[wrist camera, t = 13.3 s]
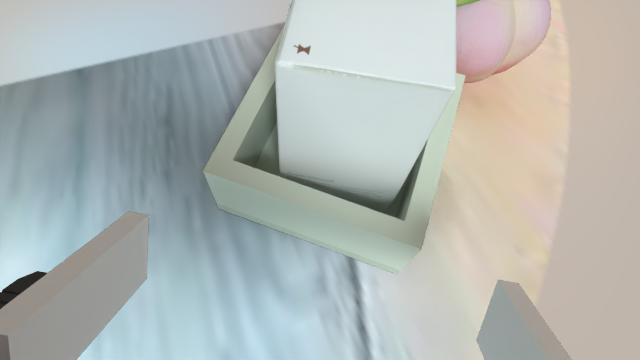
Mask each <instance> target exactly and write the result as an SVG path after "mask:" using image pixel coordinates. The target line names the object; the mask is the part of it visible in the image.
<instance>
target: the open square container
mask: <svg viewBox="0 0 640 360" xmlns="http://www.w3.org/2000/svg"><path fill="white" fill-rule="evenodd" d="M284 27H285V25H284ZM284 27H283V29H282V30H281V32H280V34H279V36H278V38H277V39H276V41H275V43H274V45H273V46H272V48H271V50H270V52H269V54H268V55H267V57H266V59H265V61H264V62H263V64H262V66H261V68H260V70H259V71H258V73H257V75H256V77H255V79H254V80H253V82H252V84H251V86H250V87H249V89H248V91H247V93H246V95H245V96H244V98H243V100H242V102H241V104H240V105H239V107H238V109H237V111H236V112H235V114H234V116H233V118H232V120H231V121H230V123H229V125H228V127H227V128H226V130H225V132H224V134H223V136H222V137H221V139H220V141H219V143H218V145H217V146H216V148H215V150H214V152H213V153H212V155H211V157H210V159H209V161H208V162H207V164H206V166H205V168H204V169H203V172H204V175H205V177H206V180H207V182H208V184H209V187H210V189H211V191H212V194H213V196H214V198H215V201H216V203H217V206H218V208H219V209H221V210H224V211H226V212H229V213H232V214H234V215H237V216H240V217H243V218H245V219H248V220H251V221H253V222H256V223H259V224H262V225H264V226H267V227H270V228H272V229H275V230H278V231H281V232H283V233H286V234H289V235H291V236H294V237H297V238H300V239H302V240H305V241H308V242H310V243H313V244H316V245H319V246H321V247H324V248H327V249H329V250H332V251H335V252H338V253H340V254H343V255H346V256H348V257H351V258H354V259H357V260H359V261H362V262H365V263H367V264H370V265H373V266H376V267H378V268H381V269H384V270H386V271H389V272H392V273H395V274H398V273H399V272H400V271H401V270H402V269H403V268H404V267H405V266H406V265H407V264H408V262H409V261H410V260H411V259H412V258H413V257H414V256H415V255H416V254H417V253H418V252H419V251H420V250H421V249H422V245H423V241H424V237H425V233H426V229H427V225H428V221H429V217H430V213H431V209H432V205H433V202H434V198H435V194H436V190H437V186H438V182H439V178H440V174H441V170H442V166H443V162H444V158H445V155H446V151H447V147H448V143H449V139H450V135H451V131H452V127H453V123H454V119H455V115H456V111H457V108H458V104H459V100H460V96H461V92H462V88H463V84H464V80H465V75H462V74H459V73H456V90H455V92H454V93H453V95H452V96H451V98H450V100H449V102H448V104H447V106H446V107H445V109H444V111H443V113H442V115H441V116H440V118H439V120H438V122H437V123H436V125H435V127H434V129H433V130H432V132H431V134H430V136H429V138H428V140H427V141H426V143H425V145H424V147H423V149H422V151H421V152H420V154H419V156H418V158H417V160H416V162H415V163H414V165H413V167H412V169H411V171H410V173H409V174H408V176H407V178H406V180H405V182H404V183H403V185H402V187H401V189H400V191H399V192H398V194H397V196H396V198H395V200H394V201H393V203H392V205H391V207H390V208H389V210H388V211H387V212H381V211H375V210H372V209H369V208H366V207H364V206H361V205H358V204H355V203H352V202H349V201H347V200H344V199H341V198H338V197H335V196H332V195H330V194H327V193H324V192H321V191H318V190H316V189H313V188H310V187H307V186H304V185H301V184H299V183H296V182H293V181H290V180H287V179H285V178H282V177H280V172H279V151H278V129H277V108H276V87H275V64H274V63H275V59H276V56H277V53H278V49H279V45H280V41H281V38H282V34H283V31H284Z"/></svg>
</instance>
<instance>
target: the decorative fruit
mask: <svg viewBox="0 0 640 360" xmlns="http://www.w3.org/2000/svg"><path fill="white" fill-rule="evenodd" d="M456 9H457V32H456V54H457V64H456V73H459V74H462V75H465V80H464V83H472V82H477V81H481V80H483V79H485V78H487V77H489V76H490V75H494V74H497V73H500V72H503V71H505V70H507V69H509V68H511V67H512V66H514V65H516V64H517V63H519V62H520V61H522V60H523V59H525V58H526V57H527V56H529V55H530V54H531V53H532V52H533V51H534V50H535V49H536V48H537V47H538V46H539V45H540V44H541V43H542V41H543V40H544V38H545V37H546V34H547V31H548V29H549V26H550V19H551V6H550V1H549V0H456Z"/></svg>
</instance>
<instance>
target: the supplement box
mask: <svg viewBox="0 0 640 360" xmlns="http://www.w3.org/2000/svg"><path fill="white" fill-rule="evenodd" d="M456 32H457V9H456V0H291V2H290V5H289V10H288V16H287V19H286V23H285V27H284V31H283V34H282V38H281V41H280V45H279V49H278V53H277V56H276V59H275V63H274V64H275V87H276V108H277V129H278V151H279V172H280V177H282V178H285V179H287V180H290V181H293V182H296V183H299V184H301V185H304V186H307V187H310V188H313V189H316V190H318V191H321V192H324V193H327V194H330V195H332V196H335V197H338V198H341V199H344V200H347V201H349V202H352V203H355V204H358V205H361V206H364V207H366V208H369V209H372V210H375V211H381V212H387V211H388V210H389V208H390V207H391V205H392V203H393V201H394V200H395V198H396V196H397V194H398V192H399V191H400V189H401V187H402V185H403V183H404V182H405V180H406V178H407V176H408V174H409V173H410V171H411V169H412V167H413V165H414V163H415V162H416V160H417V158H418V156H419V154H420V152H421V151H422V149H423V147H424V145H425V143H426V141H427V140H428V138H429V136H430V134H431V132H432V130H433V129H434V127H435V125H436V123H437V122H438V120H439V118H440V116H441V115H442V113H443V111H444V109H445V107H446V106H447V104H448V102H449V100H450V98H451V96H452V95H453V93H454V92H455V90H456V64H457V54H456Z"/></svg>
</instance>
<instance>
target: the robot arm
mask: <svg viewBox="0 0 640 360" xmlns="http://www.w3.org/2000/svg"><path fill="white" fill-rule="evenodd" d="M148 230H149V215H146V214H140V213H135V212H127V213H126V214H125V215H123V216H122V217H121V218H120V219H118V220H117V221H116V222H114V223H113V224H112V225H110V226H109V227H108V228H106V229H105V230H104V231H102V232H101V233H100V234H99V235H97V236H96V237H95V238H93V239H92V240H91V241H89V242H88V243H87V244H85V245H84V246H83V247H81V248H80V249H79V250H77V251H76V252H75V253H74V254H72V255H71V256H70V257H68V258H67V259H66V260H64V261H63V262H62V263H60V264H59V265H58V266H56V267H55V268H54V269H52V270H51V271H50V272H49V273H45V272H39V271H37V272H34V273H32V274H29V275H27V276H24V277H22V278H20V279H17V280H16V281H15V282H13V283H12V284H10V285H9V286H8V287H6V288H5V289H3V290H2V292H0V360H77V359H78V357H79V356H80V355H81V354H82V353H83V352H84V350H85V349H86V348H87V347H88V346H89V345H90V344H91V342H92V341H93V340H94V339H95V338H96V337H97V335H98V334H99V333H100V332H101V331H102V330H103V329H104V327H105V326H106V325H107V324H108V323H109V322H110V320H111V319H112V318H113V317H114V316H115V315H116V313H117V312H118V311H119V310H120V309H121V308H122V307H123V305H124V304H125V303H126V302H127V301H128V300H129V298H130V297H131V296H132V295H133V294H134V293H135V292H136V290H137V289H138V288H139V287H140V286H141V285H142V283H143V282H144V281H145V280H146V279H147V259H148ZM477 343H478V345H479V347H480V350H481V352H482V354H483V357H484V359H485V360H572V359H571V358H570V356H569V355H568V353H567V352H566V351H565V349H564V348H563V346H562V345H561V343H560V342H559V340H558V339H557V338H556V336H555V335H554V333H553V332H552V331H551V329H550V328H549V326H548V325H547V323H546V322H545V320H544V319H543V318H542V316H541V315H540V313H539V312H538V311H537V309H536V307H535V306H534V305H533V303H532V302H531V300H530V299H529V297H528V296H527V295H526V293H525V292H524V290H523V289H522V287H521V286H520V285H519V283H514V282H508V281H503V280H498V281H497V284H496V287H495V290H494V292H493V295H492V298H491V301H490V304H489V306H488V309H487V312H486V315H485V318H484V320H483V323H482V326H481V329H480V331H479V334H478V337H477Z"/></svg>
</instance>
